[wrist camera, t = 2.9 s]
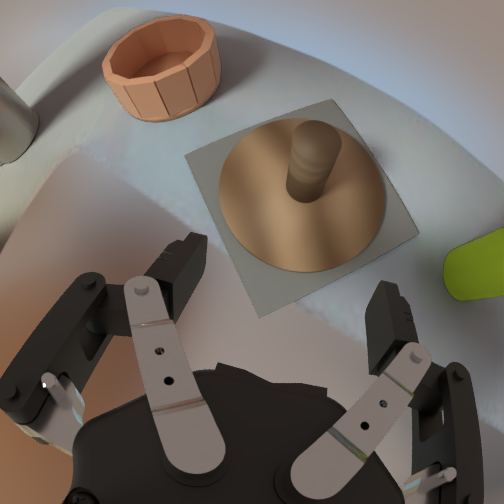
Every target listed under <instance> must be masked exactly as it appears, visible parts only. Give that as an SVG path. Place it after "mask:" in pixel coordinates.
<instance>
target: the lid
mask: <svg viewBox="0 0 504 504" xmlns="http://www.w3.org/2000/svg"><path fill="white" fill-rule="evenodd" d="M219 200H220V205H221V209H222V213H223V215H224V218H225V220H226V223H227V225H228V227H229V229H230V230H231V232H232V234H233V235H234V237H235V238H236V239H237V241H238V242H239V243H240V244H241V245H242V246H243V247H244V248H245V249H246V250H247V251H248V252H249V253H251V254H252V255H253V256H255V257H256V258H257V259H259V260H261V261H263V262H264V263H266V264H268V265H271V266H273V267H276V268H279V269H282V270H286V271H291V272H298V273H313V272H321V271H325V270H329V269H333V268H335V267H337V266H340V265H342V264H344V263H346V262H347V261H349V260H350V259H352V258H354V257H355V256H356V255H357V254H359V253H360V252H361V251H362V250H363V249H364V248H365V247H366V246H367V245H368V244H369V243H370V241H371V240H372V238H373V237H374V235H375V234H376V232H377V229H378V227H379V225H380V222H381V219H382V215H383V209H384V191H383V184H382V181H381V177H380V174H379V172H378V170H377V167H376V165H375V164H374V162H373V160H372V158H371V157H370V156H369V154H368V153H367V152H366V150H365V149H364V148H363V147H362V146H361V145H360V144H359V143H358V142H357V141H356V140H355V139H353V138H352V137H351V136H349V135H348V134H346V133H345V132H343V131H342V130H340V129H338V128H336V127H334V126H332V125H330V124H328V123H326V122H323V121H318V120H310V119H300V118H292V119H283V120H277V121H273V122H270V123H267V124H265V125H262V126H260V127H258V128H256V129H254V130H253V131H251V132H249V133H248V134H247V135H246V136H244V137H243V138H242V139H241V140H240V141H239V142H238V143H237V144H236V145H235V146H234V148H233V149H232V150H231V152H230V153H229V155H228V157H227V158H226V160H225V162H224V165H223V168H222V171H221V175H220V180H219Z"/></svg>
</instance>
